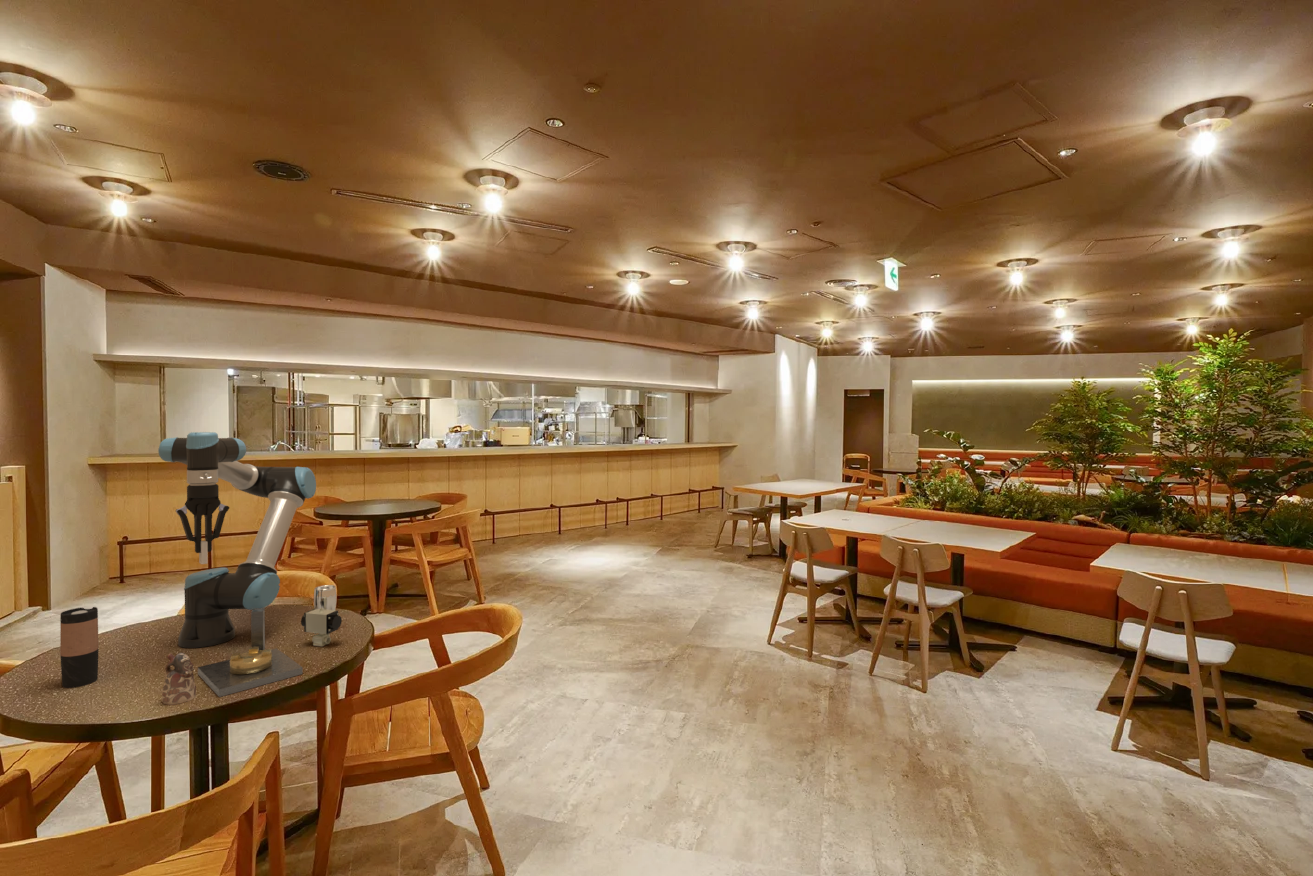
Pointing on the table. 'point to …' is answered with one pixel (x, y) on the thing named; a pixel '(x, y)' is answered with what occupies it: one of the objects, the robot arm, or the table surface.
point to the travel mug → (79, 647)
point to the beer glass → (325, 597)
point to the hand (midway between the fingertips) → (203, 563)
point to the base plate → (230, 683)
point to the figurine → (179, 680)
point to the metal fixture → (253, 648)
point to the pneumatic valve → (321, 624)
